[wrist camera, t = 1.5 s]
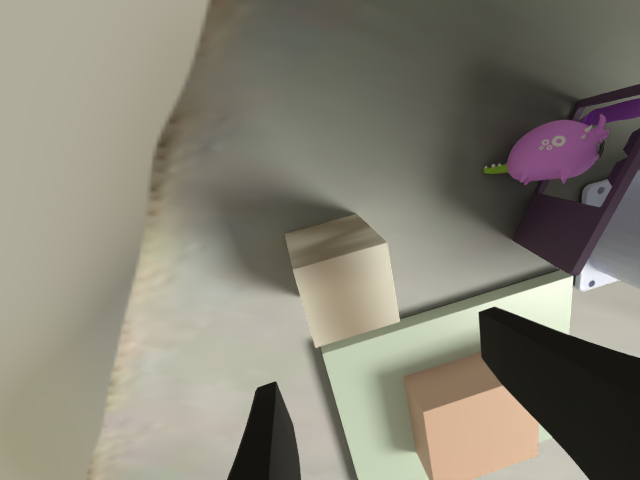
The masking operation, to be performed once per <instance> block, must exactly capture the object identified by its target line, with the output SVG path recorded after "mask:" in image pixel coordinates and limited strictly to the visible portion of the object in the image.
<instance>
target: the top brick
mask: <svg viewBox="0 0 640 480" xmlns="http://www.w3.org/2000/svg"><path fill="white" fill-rule="evenodd" d="M285 239H286V243H287V247H288V252H289V256H290V261H291V265H292V270H293V273H294V277H295V280H296V283H297V287H298V290H299V294H300V297H301V300H302V304H303V307H304V311H305V314H306V317H307V321H308V324H309V328H310V331H311V335H312V338H313V341H314V345H315V348H317V347H320V346H324V345H327V344H330V343H333V342H336V341H340V340H343V339H346V338H349V337H353V336H356V335H359V334H362V333H366V332H369V331H372V330H375V329H378V328H382V327H385V326H388V325H391V324H395V323H398V322H400V318H399V312H398V306H397V300H396V294H395V288H394V282H393V276H392V269H391V263H390V257H389V251H388V245H387V242H386V241H385V240H384V239H383V238H382V237H381V236H380V235H379V234H377V233H376V232H375V231H374V230H373V229H372V228H371V227H370V226H369V225H368V224H367V223H366V222H365V221H364V220H363V219H362V218H361V217H359V216H358V215H357V214H354V215H350V216H347V217H343V218H340V219H336V220H332V221H329V222H325V223H322V224H318V225H314V226H311V227H307V228H304V229H300V230H296V231H293V232H289V233H286V234H285Z"/></svg>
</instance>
